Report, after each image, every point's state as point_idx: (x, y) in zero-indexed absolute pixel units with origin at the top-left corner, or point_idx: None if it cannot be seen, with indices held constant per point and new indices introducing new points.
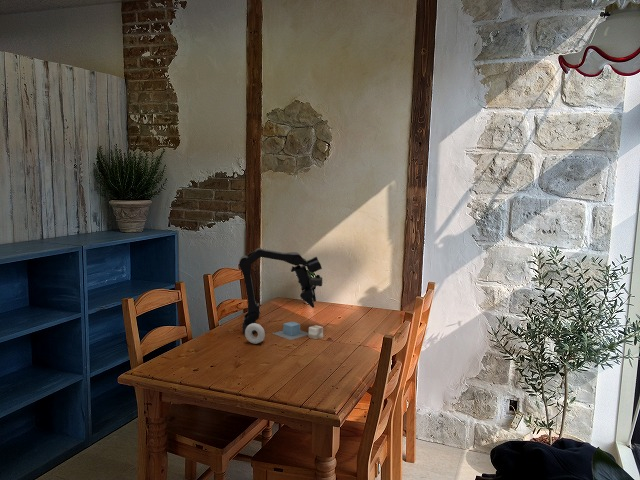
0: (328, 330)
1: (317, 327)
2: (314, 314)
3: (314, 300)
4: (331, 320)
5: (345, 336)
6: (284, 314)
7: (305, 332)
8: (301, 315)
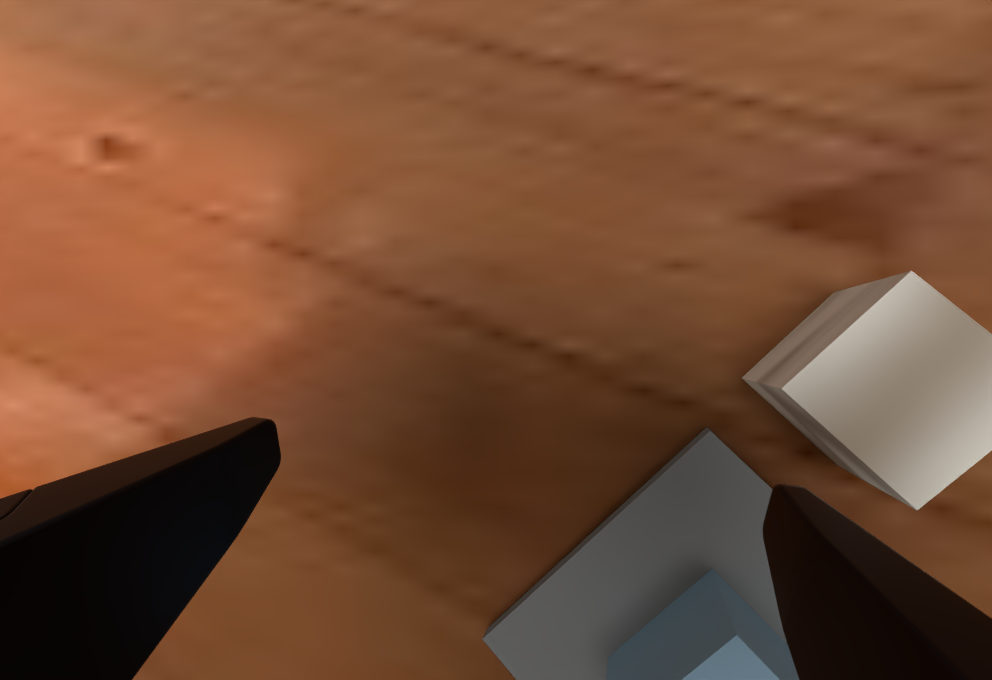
0: (500, 237)
1: (925, 364)
2: (40, 379)
3: (262, 464)
4: (192, 218)
5: (712, 36)
6: None
7: (658, 500)
8: None
